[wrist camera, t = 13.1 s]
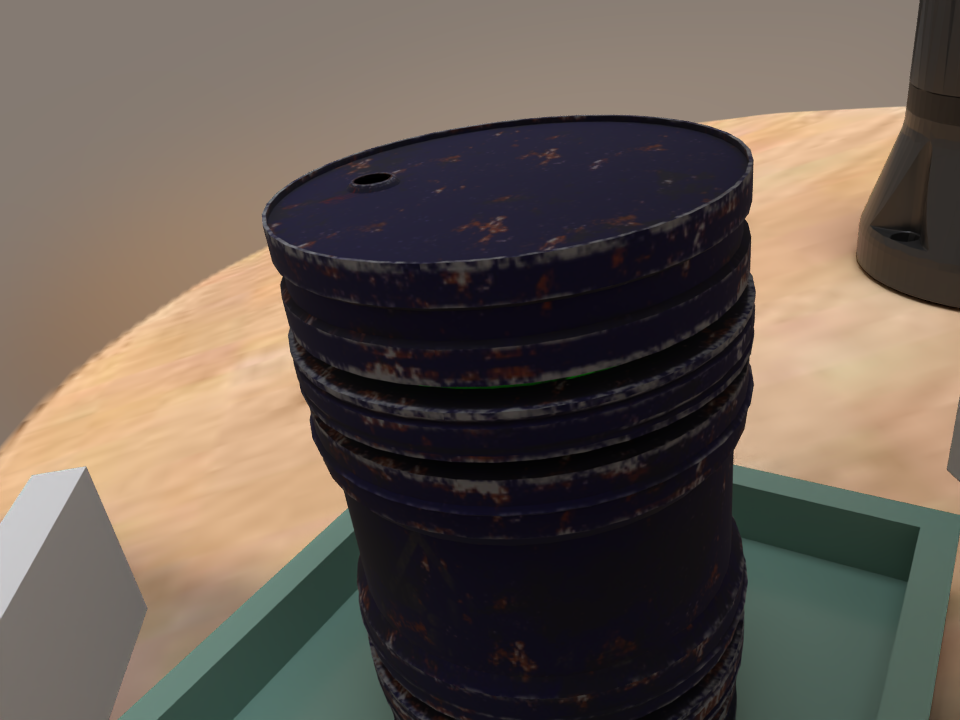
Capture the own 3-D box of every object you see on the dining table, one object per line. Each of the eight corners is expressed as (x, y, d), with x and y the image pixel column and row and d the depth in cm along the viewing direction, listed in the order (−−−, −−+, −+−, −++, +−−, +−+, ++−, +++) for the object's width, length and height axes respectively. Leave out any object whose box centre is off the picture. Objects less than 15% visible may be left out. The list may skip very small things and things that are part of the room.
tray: (470, 463, 35) (461, 404, 33) (947, 590, 25) (962, 515, 24) (115, 829, 22) (75, 758, 20) (818, 1358, 13) (833, 1293, 11)
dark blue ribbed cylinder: (745, 581, 26) (761, 101, 19) (740, 901, 18) (766, 263, 11) (451, 550, 29) (372, 128, 22) (331, 811, 21) (144, 269, 14)
